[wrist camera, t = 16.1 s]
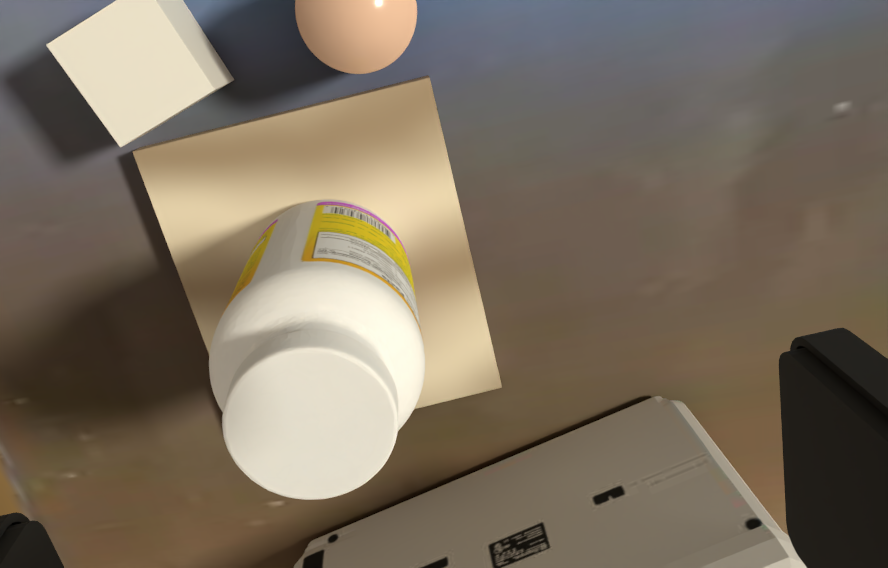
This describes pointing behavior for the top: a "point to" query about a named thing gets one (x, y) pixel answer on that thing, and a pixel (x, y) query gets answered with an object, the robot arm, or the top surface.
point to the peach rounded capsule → (356, 31)
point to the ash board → (340, 178)
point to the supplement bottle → (318, 351)
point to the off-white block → (140, 64)
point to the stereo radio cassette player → (579, 507)
